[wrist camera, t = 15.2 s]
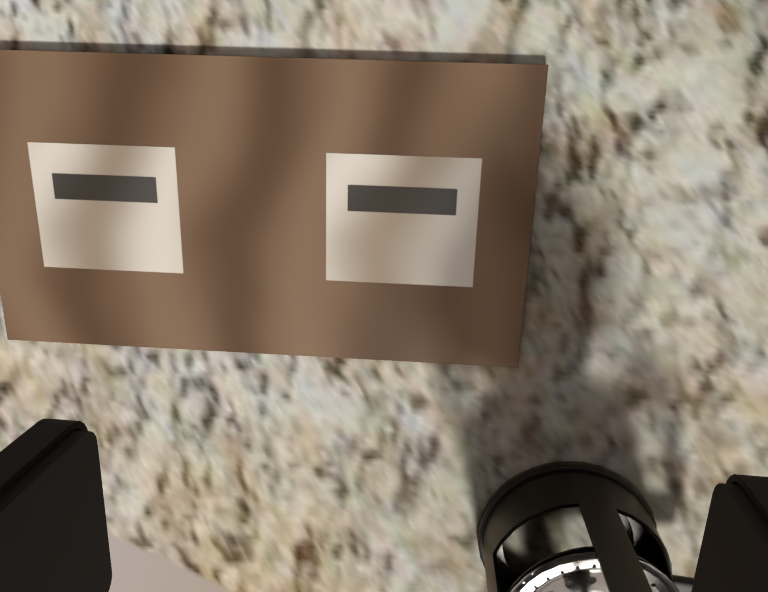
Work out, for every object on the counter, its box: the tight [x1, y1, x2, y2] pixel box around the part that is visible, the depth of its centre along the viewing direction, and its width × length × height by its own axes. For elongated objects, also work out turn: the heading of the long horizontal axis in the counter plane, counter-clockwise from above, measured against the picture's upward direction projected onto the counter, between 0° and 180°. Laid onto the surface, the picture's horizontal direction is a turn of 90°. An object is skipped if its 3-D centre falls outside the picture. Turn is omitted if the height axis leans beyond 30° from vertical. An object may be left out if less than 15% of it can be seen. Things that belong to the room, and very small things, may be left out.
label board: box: [0, 50, 548, 367], centre depth 31 cm, size 26×14×1 cm, turn 88°
